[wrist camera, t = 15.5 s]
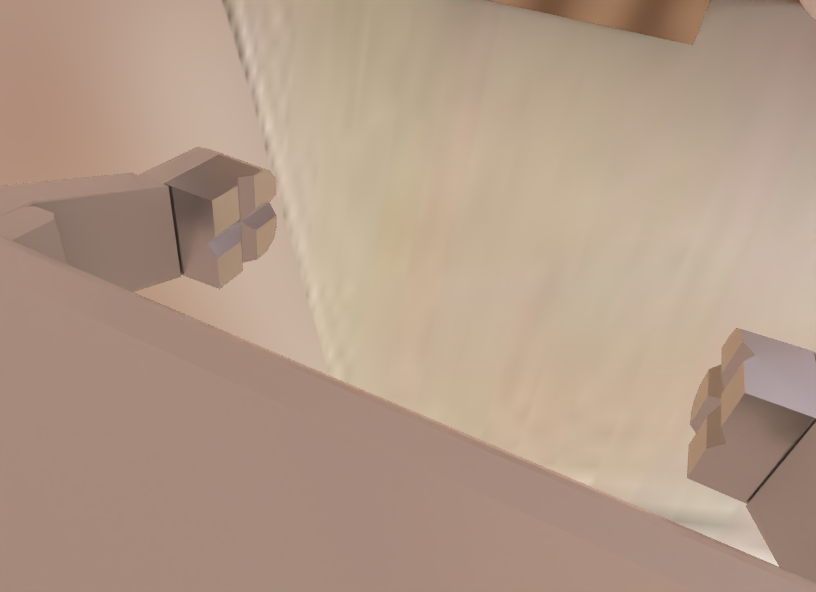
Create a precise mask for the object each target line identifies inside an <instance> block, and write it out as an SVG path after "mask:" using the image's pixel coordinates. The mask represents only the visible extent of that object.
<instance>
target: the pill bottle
mask: <svg viewBox="0 0 816 592" xmlns="http://www.w3.org/2000/svg"><path fill="white" fill-rule="evenodd" d="M798 1H799V2H800V4H801V5H802V7H803V8H804V9H805V11H806V12H807V13H808V14H809V15H810V16H811V17H812V18H813V19H814V20H816V0H798Z"/></svg>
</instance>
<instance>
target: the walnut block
mask: <svg viewBox="0 0 816 592" xmlns="http://www.w3.org/2000/svg"><path fill="white" fill-rule="evenodd" d="M489 1H494V2H498V3H503V4H507V5H512V6H517V7H521V8H526V9H530V10H535V11H540V12H544V13H549V14H553V15H558V16H562V17H567V18H572V19H576V20H581V21H585V22H590V23H594V24H599V25H604V26H608V27H613V28H617V29H622V30H626V31H631V32H636V33H640V34H645V35H649V36H654V37H658V38H663V39H668V40H672V41H677V42H681V43H686V44H691V45H693V43H694V41H695V38H696V35H697V33H698V30H699V28H700V25H701V23H702V20H703V18H704V15H705V13H706V10H707V7H708V5H709V2H710V0H489Z"/></svg>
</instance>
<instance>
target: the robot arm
mask: <svg viewBox="0 0 816 592" xmlns="http://www.w3.org/2000/svg"><path fill="white" fill-rule="evenodd" d="M275 195H276V184H275V177H274V176H273V174H272V173H271V172H270V171H269V170H266V169H263V168H261V167H258V166H255V165H252V164H249V163H247V162H244V161H241V160H238V159H235V158H233V157H230V156H227V155H224V154H223V153H219V152H216V151H212V150H210V149H206V148H201V147H196V148H194V149H192V150H190V151H188V152H185V153H183V154H181V155H179V156H177V157H175V158H173V159H171V160H169V161H167V162H165V163H163V164H161V165H158V166H156V167H154V168H152V169H150V170H148V171H146V172H144V173H142V174H140V175H137V174H134V173H124V174H114V175H104V176H94V177H84V178H74V179H63V180H53V181H43V182H33V183H23V184H13V185H2V186H0V592H816V352H813V351H810V350H807V349H804V348H801V347H797V346H794V345H791V344H788V343H784V342H781V341H778V340H775V339H772V338H768V337H765V336H762V335H759V334H755V333H752V332H749V331H746V330H743V329H738V328H736V329H735V330H734V331H733V333H732V334H731V335H730V336H729V337H728V339H727V341H726V342H725V344H724V345H723V347H722V362H721V365H718V366H716V367H713V368H711V369H709V370H708V372H707V374H706V375H705V377H704V379H703V381H702V383H701V384H700V386H699V389H698V392H697V394H696V397H695V399H694V402H693V407H692V411H691V420H690V425H691V426H692V428H693V429H694V431H695V432H696V435H695V436H694V438H693V439H692V441H691V443H690V444H689V451H688V469H687V478H688V479H691V480H693V481H695V482H698V483H700V484H702V485H705V486H707V487H709V488H712V489H714V490H716V491H719V492H721V493H723V494H726V495H728V496H730V497H732V498H735V499H737V500H739V501H742V502H744V503H746V504H747V505H746V507H747V509H748V511H749V512H750V514H751V516H752V518H753V520H754V522H755V523H756V525H757V527H758V529H759V531H760V532H761V534H762V536H763V538H764V540H765V541H766V543H767V545H768V547H769V549H770V551H771V552H772V554H773V556H774V558H775V560H776V561H777V563H778V565H779V567H778V566H775V565H773V564H771V563H768V562H766V561H764V560H761V559H759V558H757V557H754V556H752V555H750V554H747V553H745V552H743V551H740V550H738V549H736V548H733V547H731V546H728V545H726V544H724V543H721V542H719V541H717V540H714V539H712V538H710V537H707V536H705V535H703V534H700V533H698V532H696V531H693V530H691V529H689V528H686V527H684V526H682V525H679V524H677V523H674V522H672V521H670V520H667V519H665V518H663V517H660V516H658V515H656V514H653V513H651V512H649V511H646V510H644V509H642V508H639V507H637V506H634V505H632V504H630V503H627V502H625V501H623V500H620V499H618V498H616V497H613V496H611V495H609V494H606V493H604V492H602V491H599V490H597V489H594V488H592V487H590V486H587V485H585V484H583V483H580V482H578V481H576V480H573V479H571V478H569V477H566V476H564V475H562V474H559V473H557V472H554V471H552V470H550V469H547V468H545V467H543V466H540V465H538V464H536V463H533V462H531V461H529V460H526V459H524V458H522V457H519V456H517V455H514V454H512V453H510V452H507V451H505V450H503V449H500V448H498V447H496V446H493V445H491V444H489V443H486V442H484V441H482V440H479V439H477V438H474V437H472V436H470V435H467V434H465V433H463V432H460V431H458V430H456V429H453V428H451V427H449V426H446V425H444V424H442V423H439V422H437V421H435V420H432V419H430V418H427V417H425V416H423V415H420V414H418V413H416V412H413V411H411V410H409V409H406V408H404V407H402V406H399V405H397V404H395V403H392V402H390V401H387V400H385V399H383V398H380V397H378V396H376V395H373V394H371V393H369V392H366V391H364V390H362V389H359V388H357V387H355V386H352V385H350V384H348V383H345V382H343V381H341V380H338V379H336V378H333V377H331V376H329V375H326V374H324V373H321V372H319V371H317V370H315V369H312V368H310V367H307V366H305V365H303V364H301V363H298V362H296V361H294V360H291V359H289V358H286V357H284V356H282V355H279V354H277V353H275V352H272V351H270V350H268V349H265V348H263V347H261V346H258V345H256V344H253V343H251V342H249V341H247V340H244V339H242V338H239V337H237V336H235V335H232V334H230V333H228V332H225V331H223V330H221V329H218V328H216V327H214V326H211V325H209V324H206V323H204V322H202V321H200V320H197V319H195V318H192V317H190V316H188V315H185V314H183V313H181V312H178V311H176V310H174V309H171V308H169V307H167V306H164V305H162V304H160V303H157V302H155V301H153V300H150V299H147V298H146V297H143V296H141V295H138V294H136V293H134V292H135V291H138V290H141V289H144V288H147V287H150V286H153V285H156V284H160V283H163V282H166V281H169V280H172V279H174V278H178V277H181V275H184V276H186V277H189V278H192V279H195V280H197V281H200V282H203V283H205V284H208V285H211V286H213V287H216V288H219V289H220V288H222V287H223V286H224V285H225V284H227V283H228V282H229V281H230V280H232V279H233V278H234V277H236V276H237V275H238V274H239V273H241V272H242V271H243V262H247V261H252V260H256V259H258V258H259V257H261V256H262V255H263V254H264V253H265V252H266V251H267V250H268V248H269V246H270V245H271V243H272V241H273V239H274V236H275V231H276V214H275V212H274V210H273V208H272V207H271V205H270V203H269V202H270V201H271V200H272V199H273V197H274V196H275Z"/></svg>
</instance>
